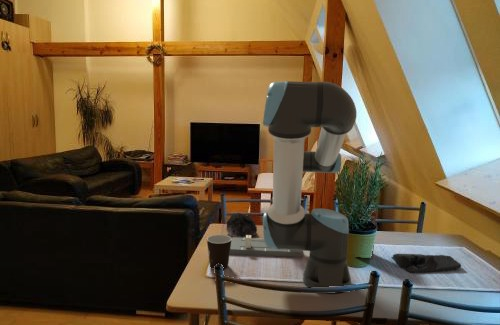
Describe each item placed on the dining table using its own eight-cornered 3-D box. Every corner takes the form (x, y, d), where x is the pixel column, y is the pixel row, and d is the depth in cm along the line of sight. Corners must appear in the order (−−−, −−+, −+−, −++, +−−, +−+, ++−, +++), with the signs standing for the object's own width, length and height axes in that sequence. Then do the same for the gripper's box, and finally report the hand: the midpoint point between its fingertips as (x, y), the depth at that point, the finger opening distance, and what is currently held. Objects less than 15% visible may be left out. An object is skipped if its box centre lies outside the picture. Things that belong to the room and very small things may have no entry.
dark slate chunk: (467, 274, 121) (469, 261, 121) (406, 274, 120) (407, 261, 120) (442, 257, 137) (443, 245, 136) (387, 256, 135) (388, 245, 135)
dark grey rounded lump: (260, 239, 152) (262, 217, 152) (231, 239, 148) (233, 216, 148) (250, 232, 165) (252, 211, 165) (223, 232, 160) (224, 210, 160)
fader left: (250, 248, 134) (250, 237, 134) (245, 247, 134) (245, 237, 134) (251, 245, 137) (251, 234, 137) (246, 244, 137) (246, 234, 137)
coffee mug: (227, 272, 118) (227, 244, 116) (203, 269, 119) (203, 242, 118) (235, 259, 129) (236, 233, 128) (213, 256, 131) (213, 231, 129)
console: (302, 257, 132) (302, 252, 132) (228, 254, 133) (228, 249, 133) (298, 244, 145) (299, 239, 145) (232, 241, 147) (232, 236, 146)
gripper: (303, 180, 142) (301, 236, 145) (272, 179, 143) (270, 234, 146) (305, 184, 135) (303, 242, 138) (271, 183, 135) (270, 241, 139)
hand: (286, 238), depth 142 cm, fingers closed
